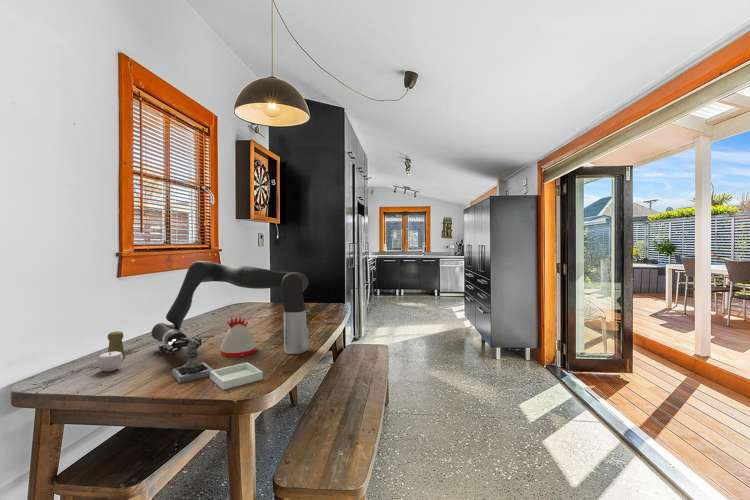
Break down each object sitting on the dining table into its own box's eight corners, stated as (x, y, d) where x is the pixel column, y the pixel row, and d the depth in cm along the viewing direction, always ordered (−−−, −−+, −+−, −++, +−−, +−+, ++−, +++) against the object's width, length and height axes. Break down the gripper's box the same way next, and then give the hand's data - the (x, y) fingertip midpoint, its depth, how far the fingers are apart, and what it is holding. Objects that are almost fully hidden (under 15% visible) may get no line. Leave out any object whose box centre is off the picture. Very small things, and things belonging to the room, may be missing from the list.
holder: (204, 367, 132) (204, 362, 132) (213, 375, 125) (213, 369, 124) (172, 374, 125) (172, 368, 125) (179, 383, 118) (179, 377, 118)
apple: (121, 364, 136) (121, 347, 136) (125, 370, 131) (125, 352, 131) (95, 370, 131) (94, 352, 131) (98, 375, 125) (97, 357, 125)
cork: (128, 357, 145) (128, 330, 144) (112, 362, 139) (111, 334, 139) (119, 356, 147) (118, 329, 147) (103, 360, 142) (102, 332, 142)
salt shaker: (194, 378, 122) (193, 343, 121) (179, 377, 123) (178, 342, 122) (205, 372, 127) (205, 338, 127) (191, 371, 128) (190, 338, 128)
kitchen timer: (220, 349, 155) (219, 315, 155) (253, 345, 161) (253, 312, 160) (221, 359, 142) (220, 321, 142) (257, 354, 148) (257, 318, 148)
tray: (247, 369, 130) (247, 362, 130) (262, 379, 120) (262, 371, 120) (209, 378, 122) (209, 370, 122) (222, 389, 112) (222, 381, 112)
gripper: (153, 333, 140) (162, 341, 128) (193, 327, 149) (205, 334, 137) (154, 352, 140) (163, 362, 128) (193, 345, 149) (205, 354, 137)
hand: (184, 348), depth 132 cm, fingers open, 8 cm apart
